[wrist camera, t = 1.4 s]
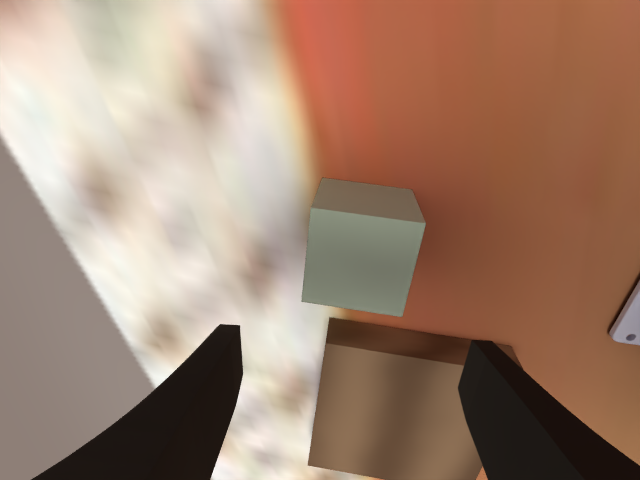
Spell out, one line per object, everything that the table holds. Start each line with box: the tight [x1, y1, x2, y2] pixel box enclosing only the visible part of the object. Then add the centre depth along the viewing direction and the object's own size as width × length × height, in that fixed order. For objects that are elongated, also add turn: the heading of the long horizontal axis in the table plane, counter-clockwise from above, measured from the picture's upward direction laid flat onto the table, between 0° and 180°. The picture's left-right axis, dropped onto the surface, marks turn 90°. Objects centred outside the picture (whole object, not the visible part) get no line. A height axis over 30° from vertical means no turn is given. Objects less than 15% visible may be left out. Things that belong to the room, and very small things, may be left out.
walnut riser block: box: [308, 317, 523, 480], centre depth 25 cm, size 12×12×3 cm
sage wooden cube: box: [301, 178, 426, 317], centre depth 19 cm, size 5×5×5 cm
